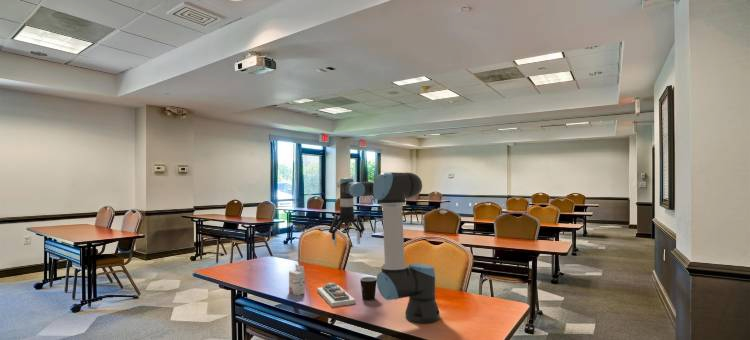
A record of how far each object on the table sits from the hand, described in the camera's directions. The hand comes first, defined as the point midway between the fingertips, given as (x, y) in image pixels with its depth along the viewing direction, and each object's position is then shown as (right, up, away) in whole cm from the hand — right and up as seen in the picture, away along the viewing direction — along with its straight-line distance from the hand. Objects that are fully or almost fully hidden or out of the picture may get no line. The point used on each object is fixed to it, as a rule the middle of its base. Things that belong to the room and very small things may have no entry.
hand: (346, 244), depth 210 cm
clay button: (-2, -22, -18) cm, 28 cm away
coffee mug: (+12, -26, -11) cm, 31 cm away
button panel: (-5, -26, -10) cm, 28 cm away
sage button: (-9, -22, -3) cm, 24 cm away
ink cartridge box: (-27, -26, -2) cm, 38 cm away
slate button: (-5, -22, -10) cm, 25 cm away
